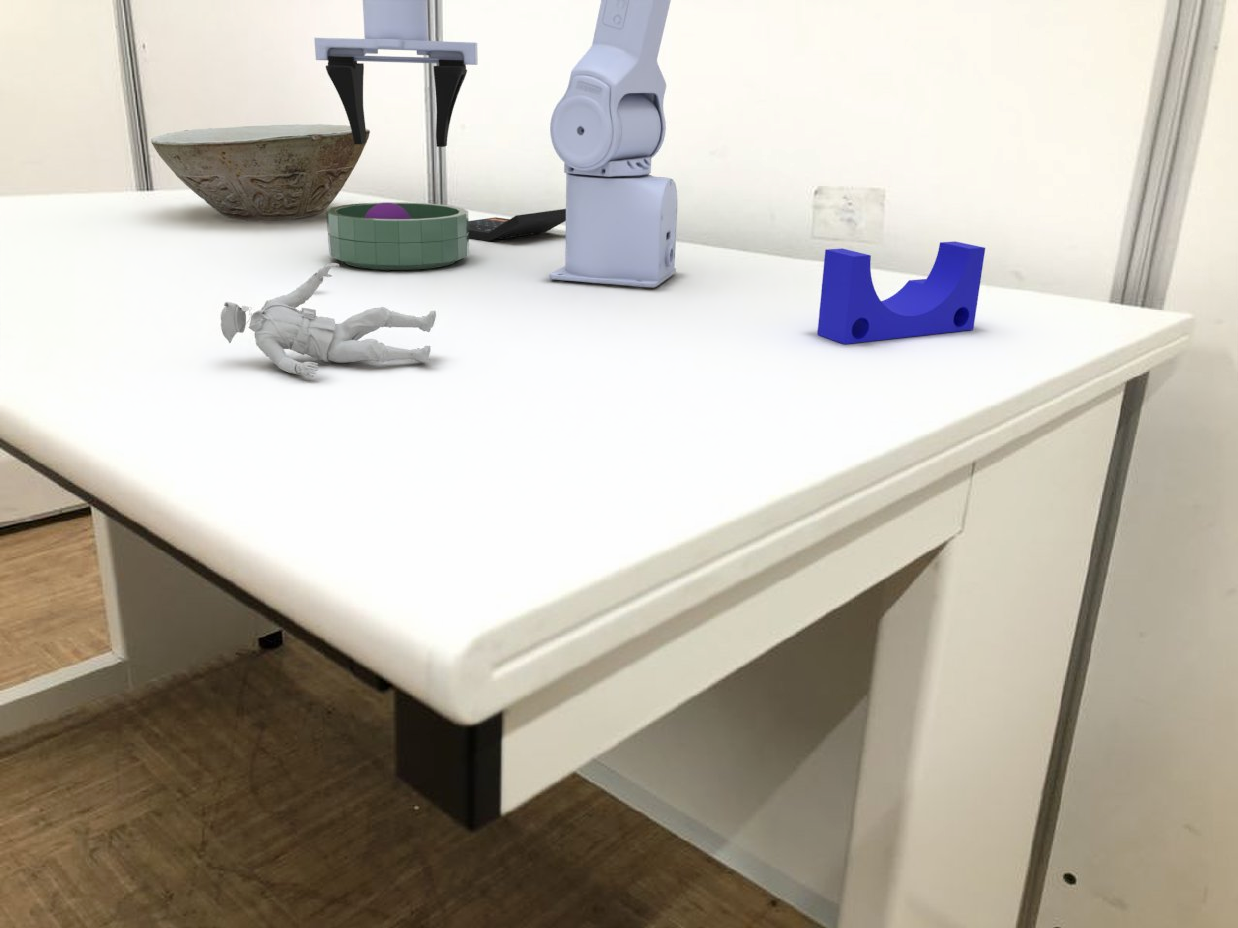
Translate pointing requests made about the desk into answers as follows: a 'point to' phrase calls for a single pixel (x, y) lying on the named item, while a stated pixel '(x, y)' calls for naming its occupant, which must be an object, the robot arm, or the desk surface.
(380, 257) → the green bowl
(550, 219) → the calculator
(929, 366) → the desk surface
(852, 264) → the blue pipe saddle bracket
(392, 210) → the ball
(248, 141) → the bowl
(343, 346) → the soldier figure
